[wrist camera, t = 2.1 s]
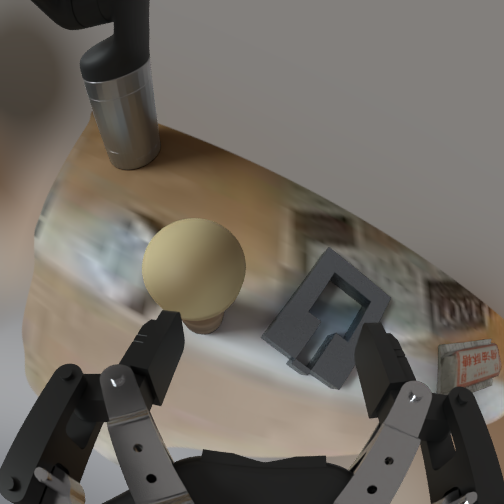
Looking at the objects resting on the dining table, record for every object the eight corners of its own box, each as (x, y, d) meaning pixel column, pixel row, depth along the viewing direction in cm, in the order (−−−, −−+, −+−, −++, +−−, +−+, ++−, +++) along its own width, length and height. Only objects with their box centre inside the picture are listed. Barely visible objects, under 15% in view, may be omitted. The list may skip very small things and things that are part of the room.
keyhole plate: (381, 302, 36) (390, 297, 34) (327, 393, 30) (335, 394, 28) (322, 254, 38) (328, 247, 35) (256, 342, 32) (260, 340, 29)
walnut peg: (166, 316, 31) (122, 268, 15) (199, 278, 34) (191, 201, 18) (206, 350, 30) (198, 339, 15) (239, 311, 33) (266, 259, 17)
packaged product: (453, 403, 27) (455, 341, 31) (433, 403, 31) (435, 345, 35) (503, 384, 28) (504, 334, 32) (486, 386, 33) (487, 339, 37)
